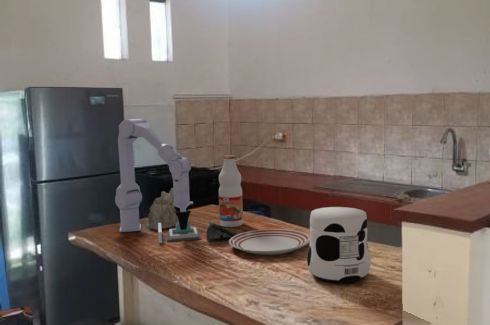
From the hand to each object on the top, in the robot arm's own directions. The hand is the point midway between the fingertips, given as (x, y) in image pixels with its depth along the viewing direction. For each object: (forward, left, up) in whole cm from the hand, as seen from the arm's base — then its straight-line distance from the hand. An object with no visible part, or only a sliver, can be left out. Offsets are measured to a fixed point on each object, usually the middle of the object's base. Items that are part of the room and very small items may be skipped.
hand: (183, 226), depth 182 cm
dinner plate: (+22, +28, -4) cm, 36 cm away
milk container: (+54, +40, -4) cm, 67 cm away
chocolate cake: (+8, +13, -4) cm, 16 cm away
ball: (0, 0, 0) cm, 0 cm away
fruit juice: (-12, +20, -4) cm, 24 cm away
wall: (0, -8, -3) cm, 9 cm away
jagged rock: (-23, -8, -4) cm, 24 cm away
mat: (0, 0, -3) cm, 3 cm away
